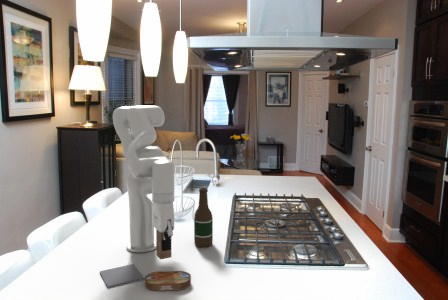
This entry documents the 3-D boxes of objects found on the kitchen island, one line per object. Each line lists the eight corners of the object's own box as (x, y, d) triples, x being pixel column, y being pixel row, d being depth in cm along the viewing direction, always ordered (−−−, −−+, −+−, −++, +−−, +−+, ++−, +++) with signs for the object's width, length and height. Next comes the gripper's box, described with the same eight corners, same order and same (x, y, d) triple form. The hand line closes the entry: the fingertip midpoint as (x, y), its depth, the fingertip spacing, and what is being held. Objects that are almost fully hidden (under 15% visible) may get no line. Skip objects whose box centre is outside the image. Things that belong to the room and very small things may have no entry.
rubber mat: (99, 272, 127) (99, 271, 127) (133, 265, 133) (133, 263, 133) (107, 288, 117) (107, 286, 117) (144, 279, 123) (144, 277, 123)
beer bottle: (192, 247, 150) (191, 190, 146) (196, 240, 157) (196, 186, 154) (210, 248, 148) (210, 191, 145) (214, 241, 156) (214, 186, 153)
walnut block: (156, 255, 128) (156, 225, 126) (167, 252, 130) (167, 223, 128) (160, 259, 124) (160, 228, 123) (171, 257, 126) (171, 226, 125)
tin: (191, 270, 123) (190, 281, 115) (191, 279, 124) (190, 290, 115) (146, 271, 123) (142, 281, 114) (146, 280, 123) (142, 291, 115)
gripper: (144, 192, 129) (145, 241, 132) (161, 204, 115) (162, 259, 118) (164, 189, 133) (165, 237, 136) (183, 201, 119) (183, 254, 121)
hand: (163, 247), depth 127 cm, fingers closed on walnut block, 4 cm apart
